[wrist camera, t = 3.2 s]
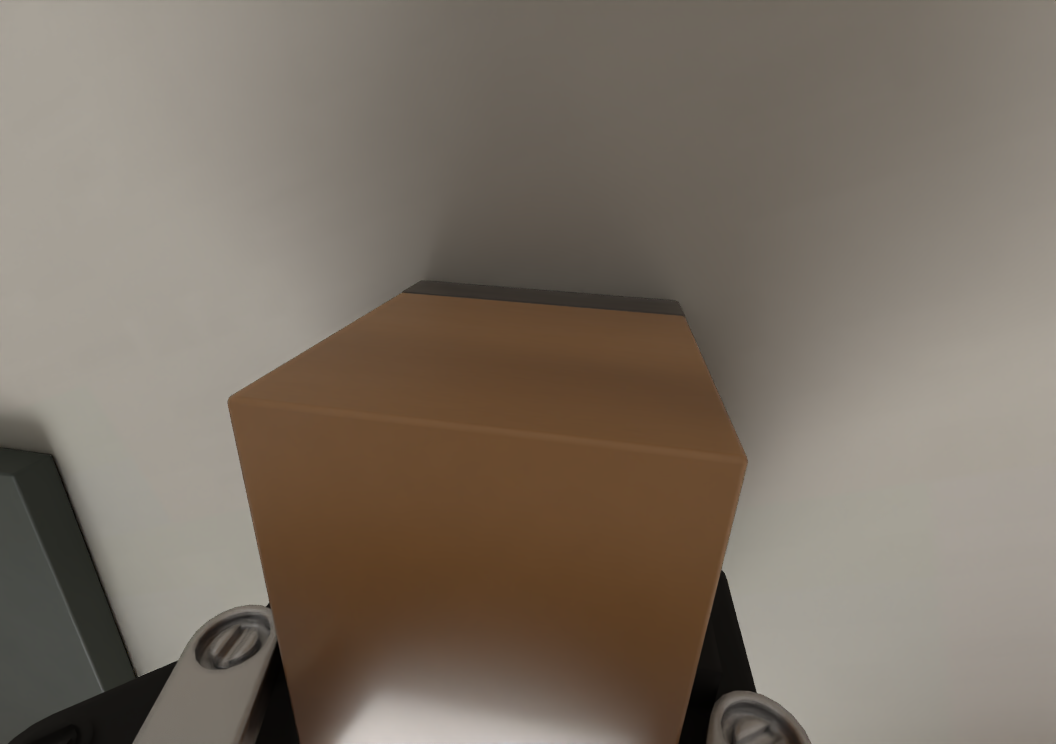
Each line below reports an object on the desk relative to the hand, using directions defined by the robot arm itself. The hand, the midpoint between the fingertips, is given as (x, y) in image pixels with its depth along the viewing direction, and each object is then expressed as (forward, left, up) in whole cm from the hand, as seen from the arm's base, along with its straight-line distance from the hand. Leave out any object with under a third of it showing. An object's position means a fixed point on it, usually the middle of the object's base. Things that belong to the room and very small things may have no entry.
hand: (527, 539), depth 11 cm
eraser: (0, 0, -1) cm, 1 cm away
